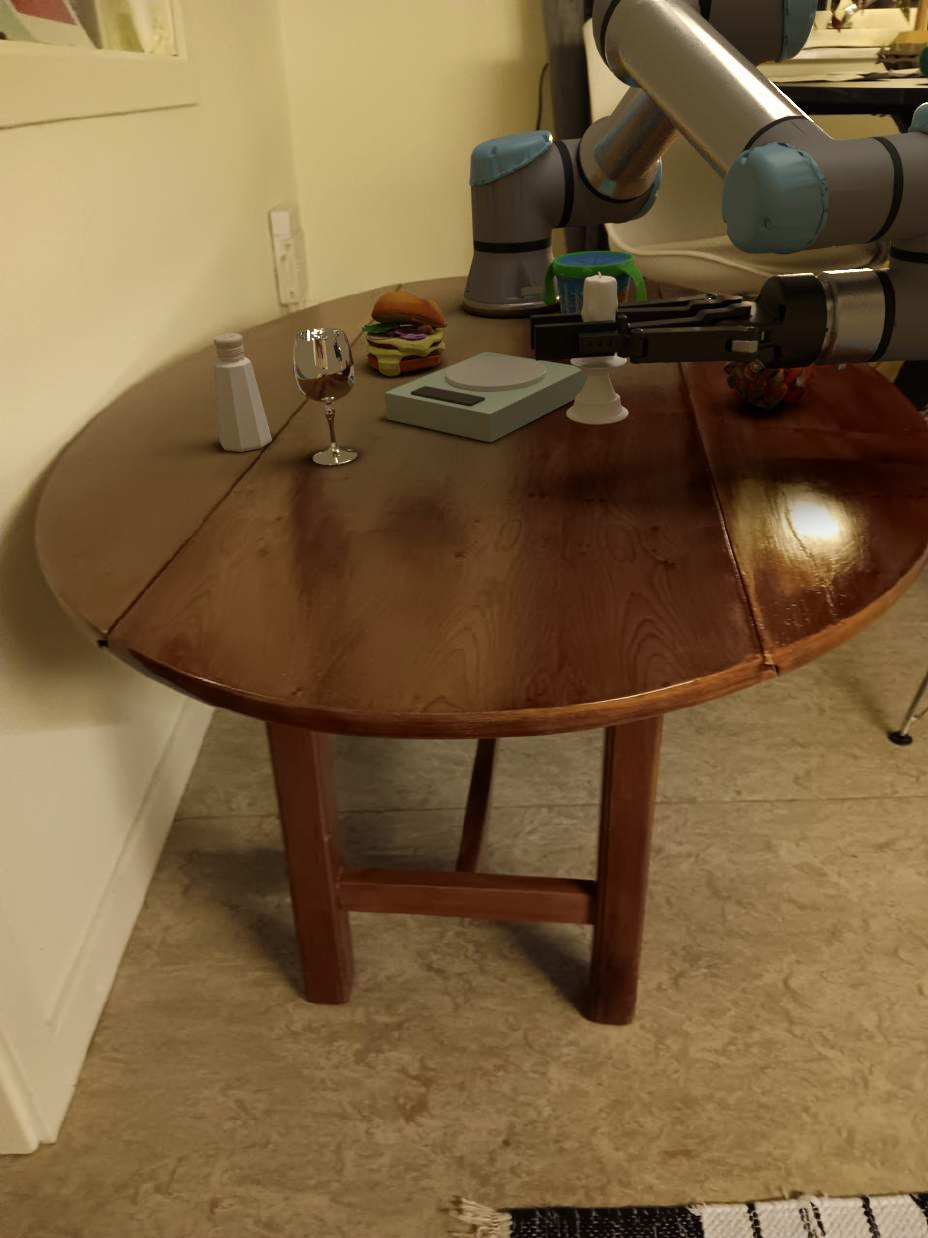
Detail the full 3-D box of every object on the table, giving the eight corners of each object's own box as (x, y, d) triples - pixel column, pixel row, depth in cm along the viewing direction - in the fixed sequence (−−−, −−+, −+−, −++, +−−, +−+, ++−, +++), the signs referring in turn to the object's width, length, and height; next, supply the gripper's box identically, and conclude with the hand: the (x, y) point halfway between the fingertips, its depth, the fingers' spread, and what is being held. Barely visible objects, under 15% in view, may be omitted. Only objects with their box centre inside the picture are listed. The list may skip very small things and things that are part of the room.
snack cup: (523, 335, 131) (522, 257, 125) (578, 320, 136) (579, 244, 131) (607, 356, 120) (610, 271, 115) (663, 339, 125) (667, 257, 120)
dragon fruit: (758, 437, 98) (753, 415, 108) (836, 388, 94) (823, 371, 105) (713, 367, 96) (713, 352, 107) (790, 315, 93) (782, 305, 103)
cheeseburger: (348, 374, 118) (347, 289, 115) (387, 371, 127) (387, 292, 124) (423, 378, 114) (424, 290, 111) (457, 375, 124) (459, 293, 121)
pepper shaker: (283, 440, 99) (266, 333, 93) (239, 456, 96) (220, 346, 90) (251, 430, 102) (234, 326, 97) (209, 445, 99) (188, 337, 93)
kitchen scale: (486, 375, 115) (485, 346, 113) (586, 393, 108) (586, 361, 106) (387, 419, 103) (384, 386, 101) (490, 442, 96) (489, 407, 94)
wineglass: (317, 472, 91) (300, 345, 85) (298, 454, 96) (280, 332, 89) (373, 459, 93) (360, 335, 87) (351, 442, 98) (337, 323, 92)
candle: (612, 429, 80) (617, 279, 74) (555, 420, 82) (555, 275, 76) (638, 409, 84) (645, 266, 77) (582, 401, 86) (585, 262, 80)
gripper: (843, 393, 75) (544, 412, 74) (776, 340, 88) (523, 356, 88) (859, 294, 71) (544, 314, 71) (786, 255, 84) (522, 271, 84)
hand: (533, 337), depth 79 cm, fingers closed on candle, 2 cm apart
